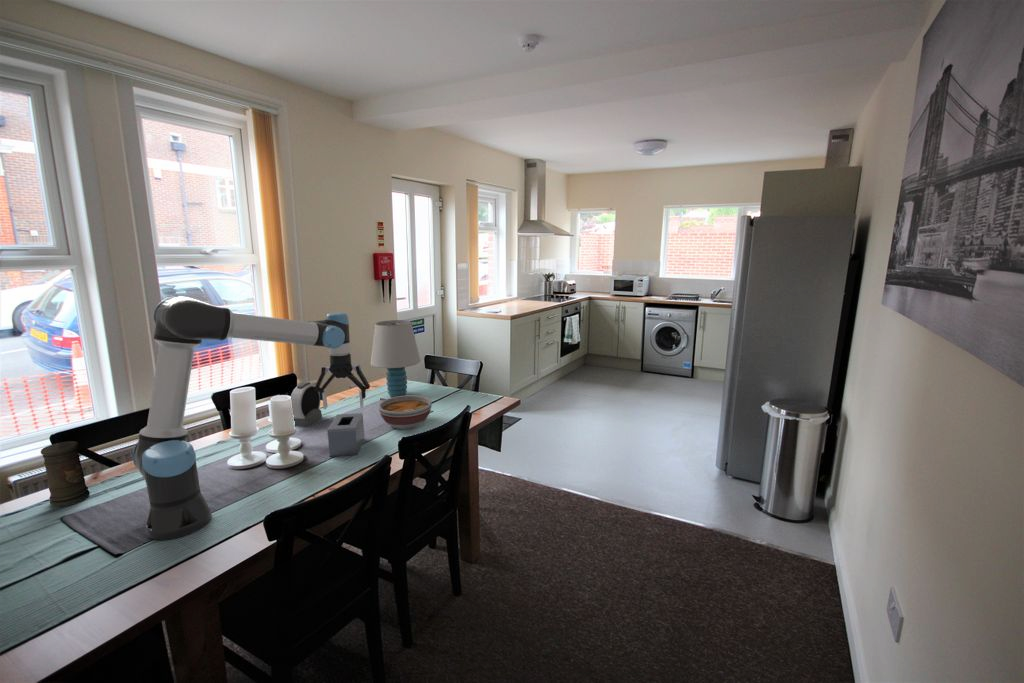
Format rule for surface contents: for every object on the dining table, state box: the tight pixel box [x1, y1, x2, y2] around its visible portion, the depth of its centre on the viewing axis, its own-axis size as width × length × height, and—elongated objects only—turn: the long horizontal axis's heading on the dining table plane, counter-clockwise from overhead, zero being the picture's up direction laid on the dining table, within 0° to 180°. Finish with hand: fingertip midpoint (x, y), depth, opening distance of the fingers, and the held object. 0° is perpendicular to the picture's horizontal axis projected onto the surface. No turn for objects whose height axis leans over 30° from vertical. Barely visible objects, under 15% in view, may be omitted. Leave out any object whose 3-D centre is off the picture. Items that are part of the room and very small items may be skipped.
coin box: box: [326, 412, 365, 458], centre depth 182 cm, size 10×16×11 cm, turn 8°
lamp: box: [370, 319, 421, 398], centre depth 243 cm, size 25×25×39 cm
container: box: [40, 440, 91, 508], centre depth 145 cm, size 9×9×18 cm
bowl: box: [378, 394, 433, 430], centre depth 206 cm, size 23×23×10 cm
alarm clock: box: [290, 381, 323, 428], centre depth 209 cm, size 16×10×18 cm, turn 171°
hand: (343, 407), depth 180 cm, fingers open, 13 cm apart
